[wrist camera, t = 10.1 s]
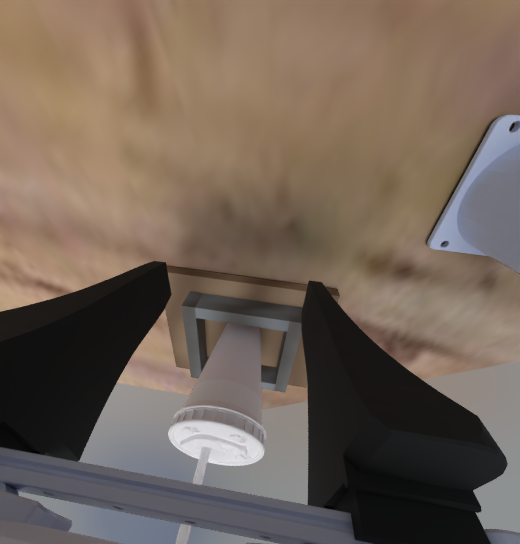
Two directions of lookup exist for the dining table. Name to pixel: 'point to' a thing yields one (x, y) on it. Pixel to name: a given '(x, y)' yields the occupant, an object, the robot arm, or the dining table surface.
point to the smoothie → (224, 408)
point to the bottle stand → (238, 321)
